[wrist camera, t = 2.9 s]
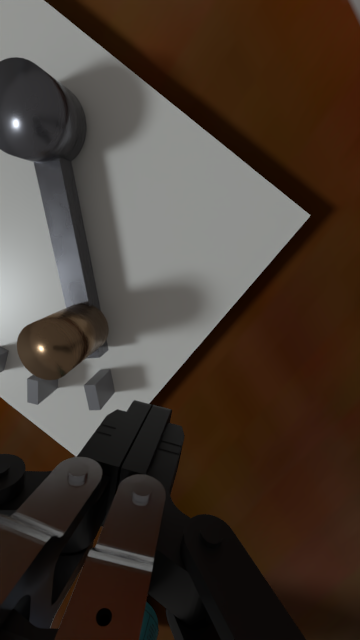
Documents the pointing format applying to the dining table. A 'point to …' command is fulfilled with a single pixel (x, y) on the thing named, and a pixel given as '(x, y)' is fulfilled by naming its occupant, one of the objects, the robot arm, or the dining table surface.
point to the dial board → (126, 232)
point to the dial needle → (54, 214)
